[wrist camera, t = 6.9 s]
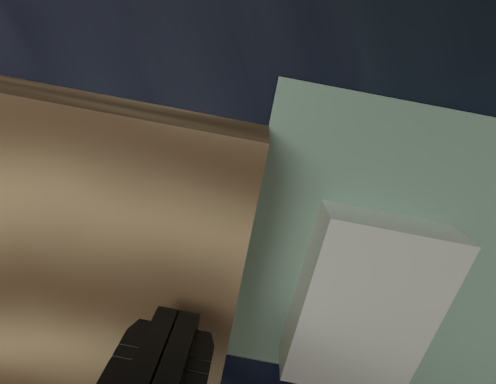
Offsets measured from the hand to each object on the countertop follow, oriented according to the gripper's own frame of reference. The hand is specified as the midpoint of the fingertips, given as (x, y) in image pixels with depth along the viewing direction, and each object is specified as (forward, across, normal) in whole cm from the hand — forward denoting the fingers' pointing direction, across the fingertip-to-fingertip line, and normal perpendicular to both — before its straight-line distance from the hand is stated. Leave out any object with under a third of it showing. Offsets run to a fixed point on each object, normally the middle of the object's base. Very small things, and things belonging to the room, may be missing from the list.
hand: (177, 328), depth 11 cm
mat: (+5, -10, -2) cm, 11 cm away
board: (+5, +5, 0) cm, 7 cm away
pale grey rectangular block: (+2, -8, 0) cm, 8 cm away
